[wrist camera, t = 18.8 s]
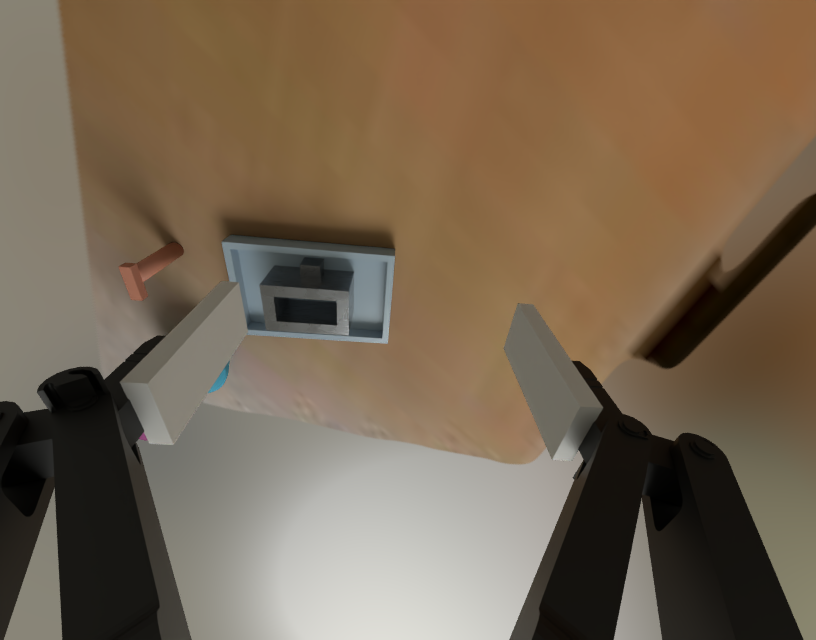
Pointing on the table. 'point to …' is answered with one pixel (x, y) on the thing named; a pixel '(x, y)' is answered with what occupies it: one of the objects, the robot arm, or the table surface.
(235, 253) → the tray
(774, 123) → the table surface
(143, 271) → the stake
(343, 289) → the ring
